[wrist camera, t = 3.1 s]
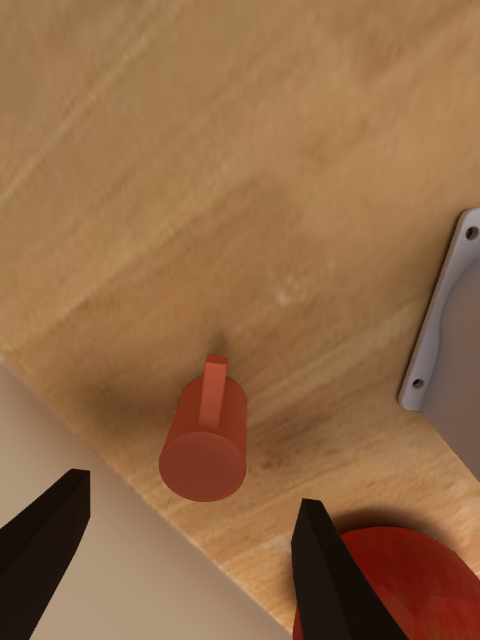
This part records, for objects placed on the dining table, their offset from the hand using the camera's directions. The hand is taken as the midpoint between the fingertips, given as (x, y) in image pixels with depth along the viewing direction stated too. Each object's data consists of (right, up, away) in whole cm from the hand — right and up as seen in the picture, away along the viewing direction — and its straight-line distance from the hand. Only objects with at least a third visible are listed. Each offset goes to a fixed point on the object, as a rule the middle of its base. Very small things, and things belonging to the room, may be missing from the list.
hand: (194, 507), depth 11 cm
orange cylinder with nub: (0, +3, +5) cm, 6 cm away
